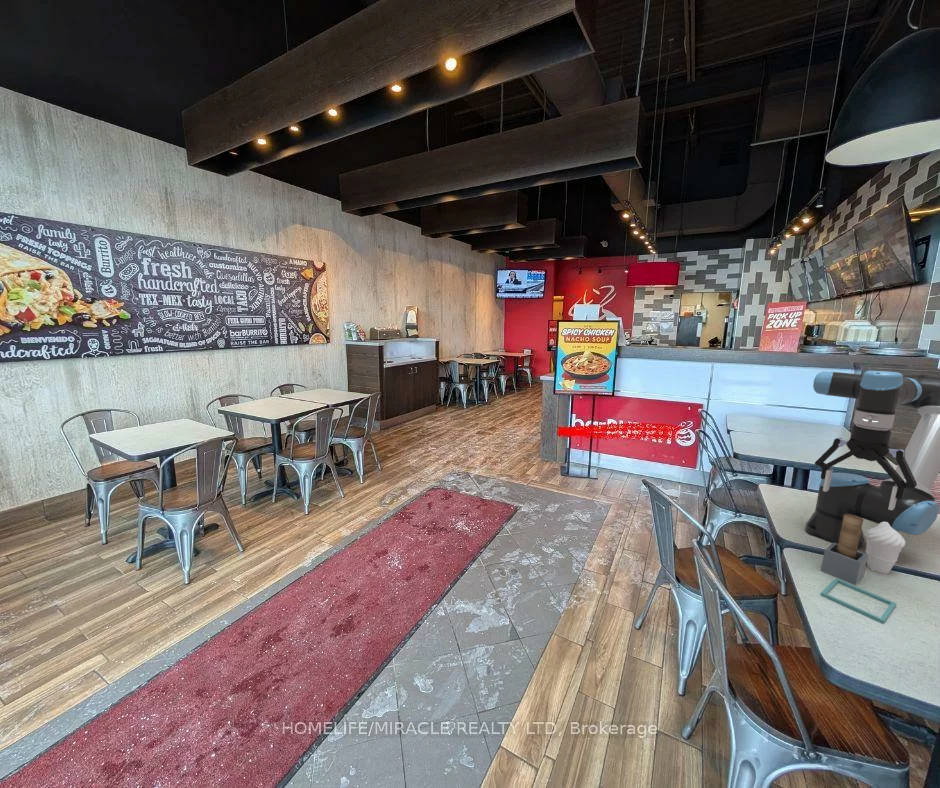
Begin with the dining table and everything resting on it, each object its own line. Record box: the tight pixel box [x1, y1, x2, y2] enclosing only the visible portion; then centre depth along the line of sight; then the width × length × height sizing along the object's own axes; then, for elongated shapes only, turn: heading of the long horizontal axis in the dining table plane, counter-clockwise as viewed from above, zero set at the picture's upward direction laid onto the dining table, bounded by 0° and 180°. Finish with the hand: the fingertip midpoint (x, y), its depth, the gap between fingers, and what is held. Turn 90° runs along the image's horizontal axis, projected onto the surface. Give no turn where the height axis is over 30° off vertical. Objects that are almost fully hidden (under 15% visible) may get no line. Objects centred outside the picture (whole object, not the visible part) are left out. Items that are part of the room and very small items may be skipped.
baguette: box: [836, 514, 864, 559], centre depth 112 cm, size 4×4×18 cm
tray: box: [819, 577, 897, 625], centre depth 102 cm, size 12×12×2 cm
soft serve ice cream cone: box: [864, 522, 906, 575], centre depth 115 cm, size 8×8×16 cm
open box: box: [820, 542, 868, 587], centre depth 113 cm, size 8×8×8 cm
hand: (856, 499), depth 110 cm, fingers open, 13 cm apart
